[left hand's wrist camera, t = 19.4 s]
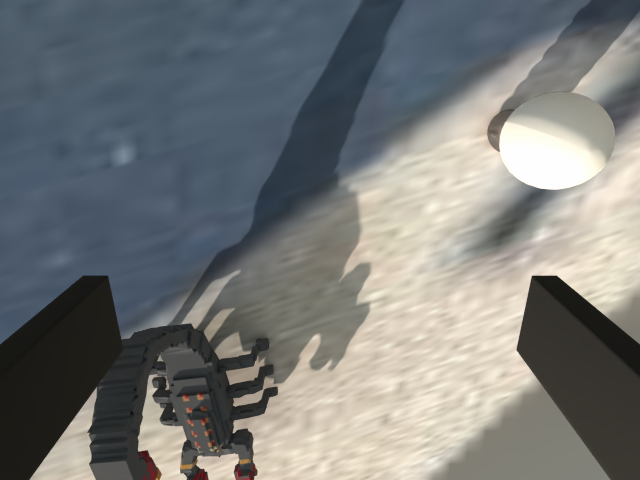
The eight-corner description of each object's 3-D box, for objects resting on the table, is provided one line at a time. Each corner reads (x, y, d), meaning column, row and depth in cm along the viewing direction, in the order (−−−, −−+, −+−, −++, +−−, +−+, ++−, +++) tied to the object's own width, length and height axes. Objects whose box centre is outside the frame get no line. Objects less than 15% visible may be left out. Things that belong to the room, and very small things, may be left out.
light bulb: (459, 151, 37) (513, 180, 26) (499, 76, 34) (575, 74, 24) (524, 180, 37) (600, 218, 27) (567, 108, 35) (668, 120, 25)
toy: (252, 262, 40) (202, 395, 23) (292, 460, 50) (277, 657, 33) (120, 277, 41) (-23, 417, 24) (184, 470, 51) (116, 668, 34)
